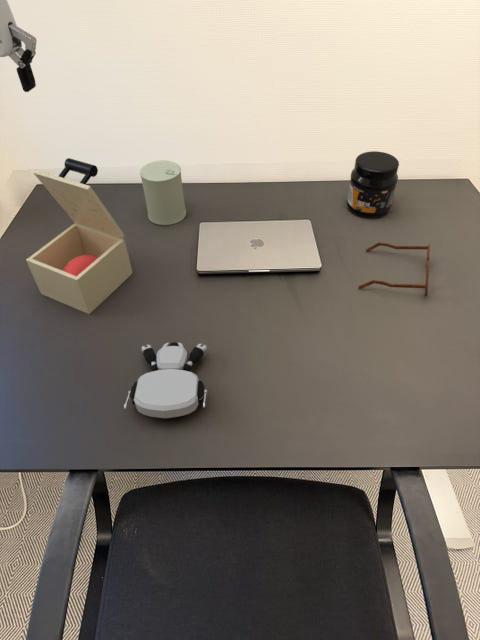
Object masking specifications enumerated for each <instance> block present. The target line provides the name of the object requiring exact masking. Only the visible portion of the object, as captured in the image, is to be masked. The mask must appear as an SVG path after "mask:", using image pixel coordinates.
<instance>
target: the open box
mask: <svg viewBox="0 0 480 640" xmlns="http://www.w3.org/2000/svg"><path fill="white" fill-rule="evenodd" d="M82 255H92V256H96V257H97V258H98V259H96V260H95V261H94V262H93V263H92V264H91V265H89V266H88V267H87V268H86V269H85V270H84V271H82V272H81V273H80V274H79V275H78V276H74V275H72V274H69V273H67V272H64V271H63V269H64V267H65V266H66V265H67V263H68V262H69V261H71V260H72V259H74V258H76V257H78V256H82ZM25 262H26V263H27V267H28V268H29V270H30V273H31V274H32V277H33V279H34V281H35V283H36V286H37V288H38V290H39V292H40V294H41V295H42V296H45V297H47V298H49V299H51V300H54V301H56V302H58V303H61V304H64V305H66V306H68V307H70V308H73V309H75V310H78V311H80V312H83V313H85V314H87V315H91V314H92V312H94V311H95V310H96V309H97V308H98V307H99V306H100V305H102V303H104V301H105V300H107V299H108V297H110V296H111V295H112V294H113V293H114V292H115V291H116V290H117V289H118V288H119V287H120V286H122V284H124V282H125V281H126V280H127V279H129V277H131V276H132V275H133V268H132V264H131V261H130V257H129V252H128V247H127V245H126V240H125V238H123V239H122V238H119V237H116V236H114V235H111V234H108V233H105V232H102V231H99V230H96V229H93V228H90V227H87V226H84V225H82V224H79V223H76V222H73V224H71V225H70V226H69V227H67V228H66V229H65V230H64V231H62V232H61V233H60V234H58V235H57V236H55V237H54V238H53V239H51V240H50V241H49V242H47V243H46V244H45V245H44V246H42V247H41V248H39V249H38V250H37V251H36V252H34V253H33V254H32V255H30V256H29V257H27V258H26V259H25Z"/></svg>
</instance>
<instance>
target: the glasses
mask: <svg viewBox="0 0 480 640" xmlns="http://www.w3.org/2000/svg"><path fill="white" fill-rule="evenodd" d="M381 246H382V247H387V248H391V249H394V250H426V265H425V269H426V271H425V284H411V283H391V282H387V281H383V280H375V279H372V280H369V281H367V282H365V283H362V284H360V285H358V289H359V290H361V289H364V288H366V287H369V286H371V285H374V284H376V285H382V286H386V287H389V288H400V289H401V288H403V289H404V288H405V289H424V296H426V297H427V296H428V290H429V289H428V288H429V272H430V271H429V268H430V253H431V252H430V251H431V250H430V249H431V245H430V244H427V245H394V244H391V243H388V242H387V243H385V242H377V243H374V244H373V245H371V246H369V247H368V248H366V249H365V251H366V253H369V252H371V251H373V250H375V249H376V248H378V247H381Z"/></svg>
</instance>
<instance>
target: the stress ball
mask: <svg viewBox="0 0 480 640" xmlns="http://www.w3.org/2000/svg"><path fill="white" fill-rule="evenodd" d="M96 259H98V258H97V257H96V256H92V255H82V256H78V257H76V258H74V259H72V260H71V261H69V262H68V263H67V265H66V266H65V267H64V269H63V271H64V272H67V273H69V274H72V275H74V276H78V275H79V274H80V273H81V272H82V271H84V270H85V269H86V268H87V267H88V266H89V265H91V264H92V263H93V262H94V261H95V260H96Z"/></svg>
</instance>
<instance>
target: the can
mask: <svg viewBox="0 0 480 640" xmlns="http://www.w3.org/2000/svg"><path fill="white" fill-rule="evenodd" d="M181 168H182V167H181V165H180V164H178V163H176V162H174V161H171V160H156V161H155V160H154V161H152V162H149V163H147V164H145V165H143V166H142V167H141V168H140V171H139V175H140V179H141V184H142V189H143V194H144V199H145V204H146V205H145V206H146V210H147V211H146V212H147V219H148V220H149V221H150V222H151V223H152V224H155V225H158V226H172V225H175V224H178V223H180V222H181V221H182V220H184V219H185V217H186V216H187V209H186V205H185V197H184V188H183V179H182V169H181Z"/></svg>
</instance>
